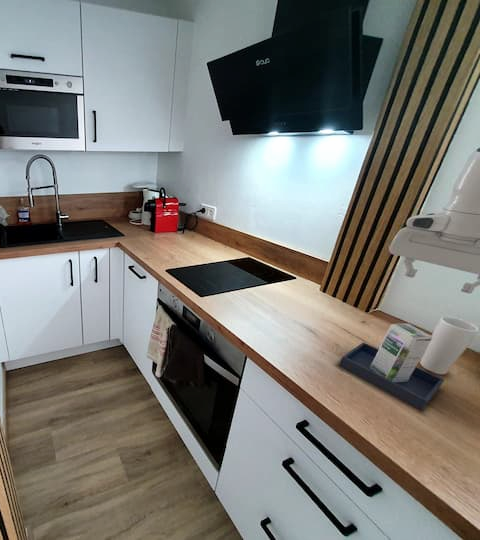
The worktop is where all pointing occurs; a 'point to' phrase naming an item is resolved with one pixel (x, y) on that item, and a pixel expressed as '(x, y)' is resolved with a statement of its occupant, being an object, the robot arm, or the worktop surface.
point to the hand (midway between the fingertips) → (436, 283)
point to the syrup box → (400, 352)
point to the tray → (411, 392)
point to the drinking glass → (447, 344)
